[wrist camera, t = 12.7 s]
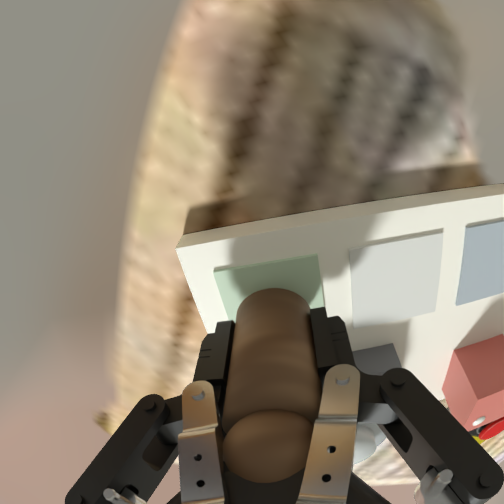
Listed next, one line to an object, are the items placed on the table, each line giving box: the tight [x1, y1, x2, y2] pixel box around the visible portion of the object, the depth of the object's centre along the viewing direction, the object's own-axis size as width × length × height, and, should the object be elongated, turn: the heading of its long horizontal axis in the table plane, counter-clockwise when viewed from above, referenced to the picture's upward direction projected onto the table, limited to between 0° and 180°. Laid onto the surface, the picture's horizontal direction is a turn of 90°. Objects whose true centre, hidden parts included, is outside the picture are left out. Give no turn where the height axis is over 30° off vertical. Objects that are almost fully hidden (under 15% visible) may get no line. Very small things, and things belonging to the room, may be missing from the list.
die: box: [442, 334, 504, 431], centre depth 17 cm, size 4×4×5 cm
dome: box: [353, 422, 386, 465], centre depth 18 cm, size 6×6×4 cm
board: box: [175, 183, 504, 400], centre depth 17 cm, size 21×17×4 cm
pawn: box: [222, 288, 323, 483], centre depth 11 cm, size 4×4×9 cm
